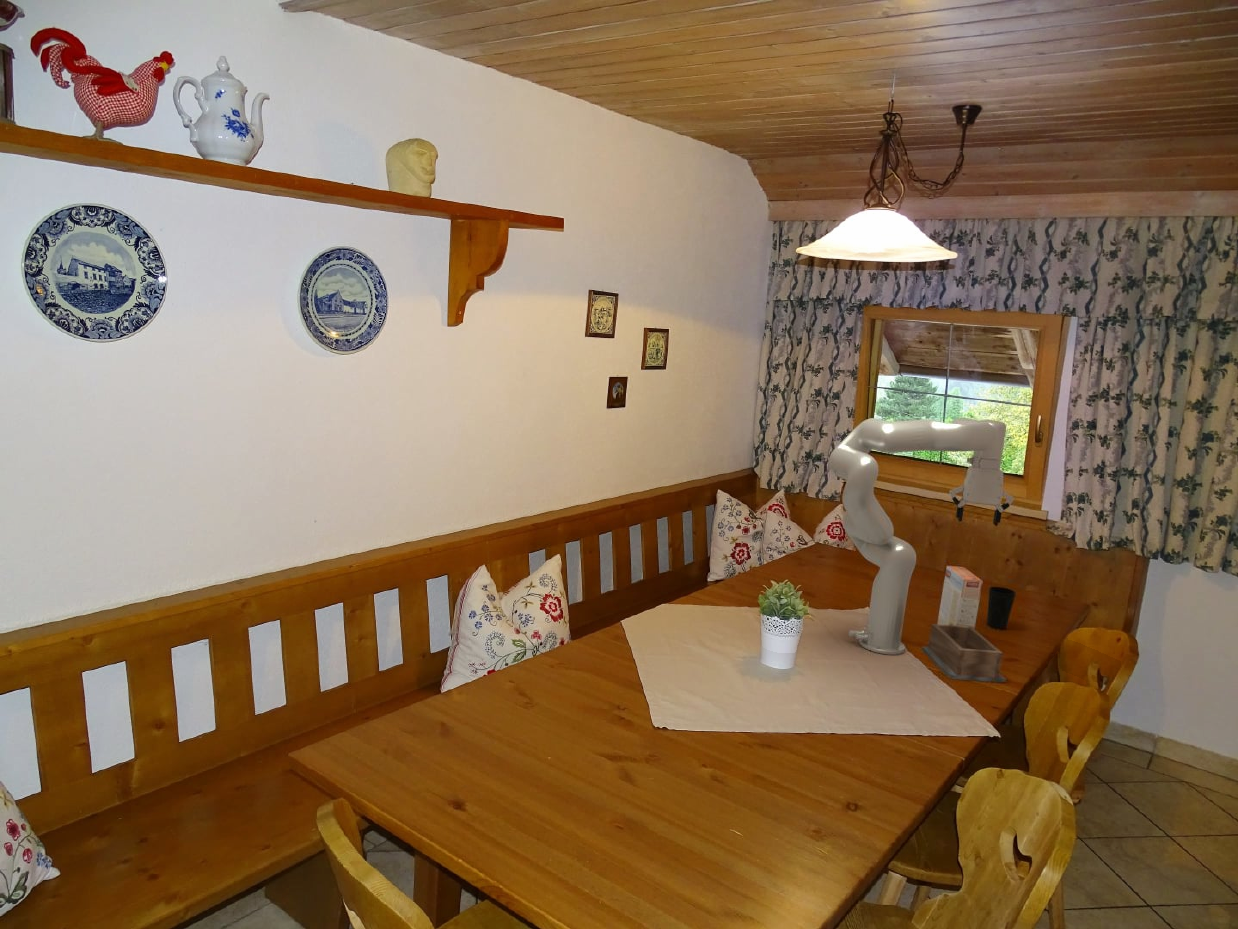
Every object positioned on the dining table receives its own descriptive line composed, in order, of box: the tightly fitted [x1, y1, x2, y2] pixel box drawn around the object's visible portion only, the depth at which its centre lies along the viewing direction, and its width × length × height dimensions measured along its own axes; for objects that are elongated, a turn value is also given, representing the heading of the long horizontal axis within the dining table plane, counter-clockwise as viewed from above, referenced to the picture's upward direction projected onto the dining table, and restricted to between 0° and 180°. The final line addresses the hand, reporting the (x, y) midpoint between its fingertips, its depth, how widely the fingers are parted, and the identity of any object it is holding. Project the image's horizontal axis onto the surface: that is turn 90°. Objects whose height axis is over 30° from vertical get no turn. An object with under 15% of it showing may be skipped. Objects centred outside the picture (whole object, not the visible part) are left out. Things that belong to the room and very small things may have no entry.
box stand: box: [920, 623, 1006, 683], centre depth 241 cm, size 15×20×8 cm
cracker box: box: [936, 565, 984, 629], centre depth 260 cm, size 14×6×21 cm, turn 179°
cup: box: [986, 586, 1017, 631], centre depth 276 cm, size 8×8×12 cm
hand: (977, 522), depth 252 cm, fingers open, 9 cm apart
